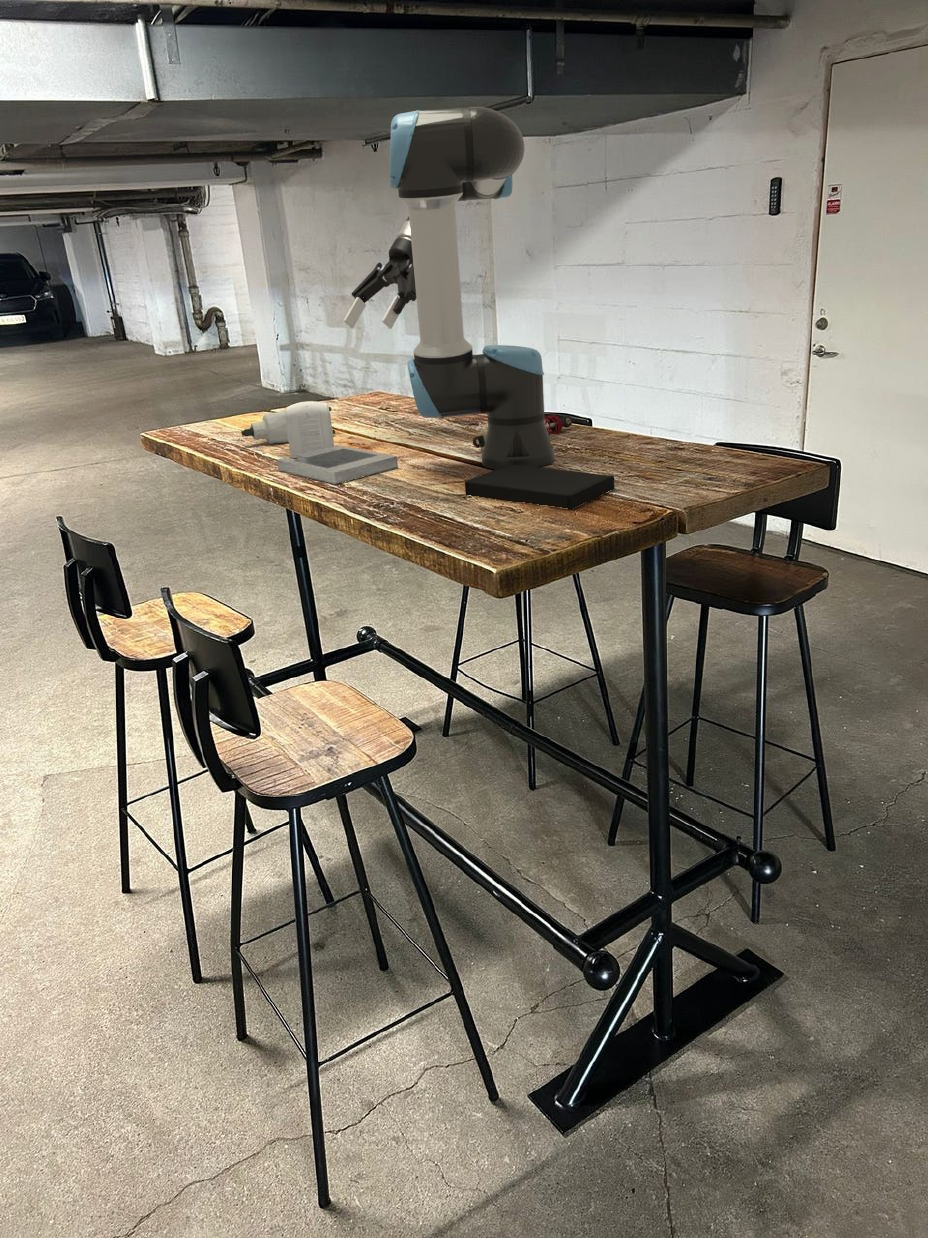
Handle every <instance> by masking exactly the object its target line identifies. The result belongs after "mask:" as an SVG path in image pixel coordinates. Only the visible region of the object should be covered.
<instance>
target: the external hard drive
mask: <svg viewBox="0 0 928 1238" xmlns="http://www.w3.org/2000/svg"><path fill="white" fill-rule="evenodd" d="M613 489H614V490H615V475H610V474H600V473H591V472H582V471H574V470H573V471H572V470H566V469H565V470H563V469H555V468H545V467H530V466H521V465H512V464H509V465H506V466H504V467H501V468H499V469H493V470H491V471H488V472H486V473H484V474H481V475H477V476H475V477H473V478H471V479H468V480H465V481H464V491H465V496H467V495H471V496H470V497H474V496H479V497H478V498H481V497H485V498H484V499H488V498H491V499H490V500H495V499H496V501H501V502H502V501H504V502H509V501H512V502H511V503H516V502H525V503H532V504H539V505H548V506H555V507H562V508H568V509H573V508H575V507H577V506H579V505H581V504H583V503H585V502H588V503H589V501H590V502H592V501H594V500H595V498H596V499H597V497H598V498H600V497H602V496H603V495H602V494H604V493H606V492H608V491H610V490H613ZM614 490H613V491H614ZM610 492H611V491H610ZM608 493H609V492H608ZM606 494H607V493H606ZM601 495H602V496H601ZM604 495H605V494H604ZM599 496H600V497H599ZM593 499H594V500H593ZM591 500H592V501H591ZM581 506H582V505H581ZM579 507H580V506H579ZM577 508H578V507H577ZM575 509H576V508H575ZM573 510H574V509H573Z"/></svg>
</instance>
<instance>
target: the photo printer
mask: <svg viewBox="0 0 928 1238" xmlns="http://www.w3.org/2000/svg"><path fill="white" fill-rule="evenodd" d="M327 405H328V403H325V402H322V401H313V400H311V401H309V400H308V401H300V402H297V403H294V404H291V405H289V406H286V407H285V408H286V409H285V411H286V413H285V419H286V426H287V433H288V440H289V442H288V447H289V454H290V457H291V458H292V459H297V456H296V455H298V454H303V453H307V452H311V451H315V450H319V449H323V448H328V447H332V446H335V442H334V436H333V435H334V434H333V432H332V430H333V423H332V416H331V411H329V408H328V407H327Z"/></svg>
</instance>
